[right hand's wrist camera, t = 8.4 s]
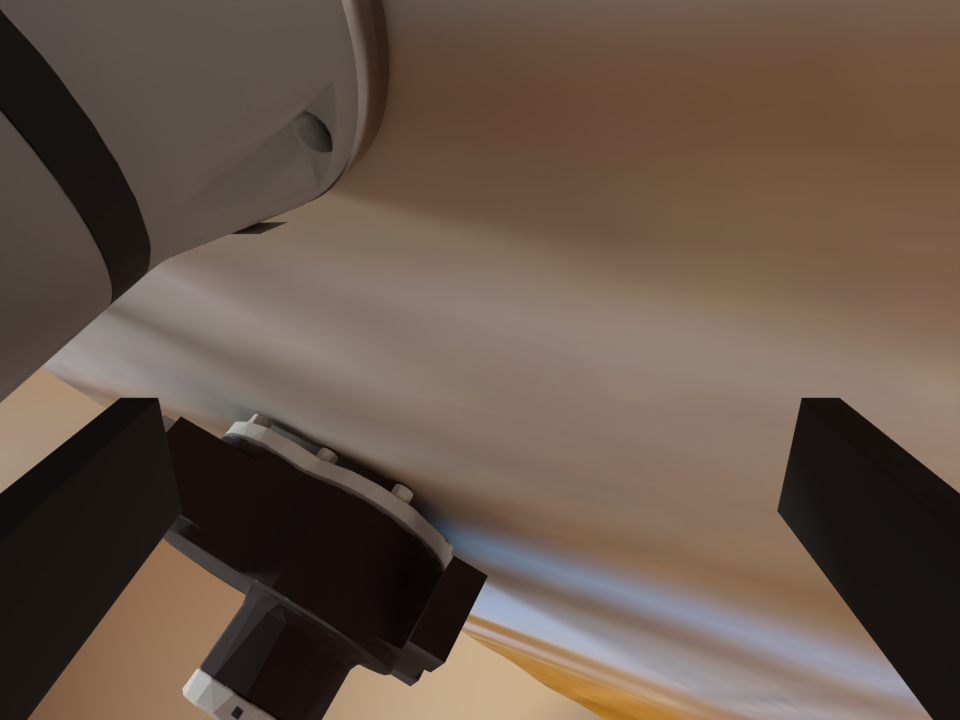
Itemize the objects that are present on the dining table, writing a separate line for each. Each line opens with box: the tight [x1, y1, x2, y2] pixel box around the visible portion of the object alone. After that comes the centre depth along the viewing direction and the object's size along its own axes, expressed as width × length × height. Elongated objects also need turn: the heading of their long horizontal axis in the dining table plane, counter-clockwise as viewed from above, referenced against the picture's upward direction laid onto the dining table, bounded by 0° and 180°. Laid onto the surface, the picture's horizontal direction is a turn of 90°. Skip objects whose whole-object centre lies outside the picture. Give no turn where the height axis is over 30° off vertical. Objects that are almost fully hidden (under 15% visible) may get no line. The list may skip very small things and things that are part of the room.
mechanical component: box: [162, 414, 487, 720], centre depth 47 cm, size 22×21×30 cm
